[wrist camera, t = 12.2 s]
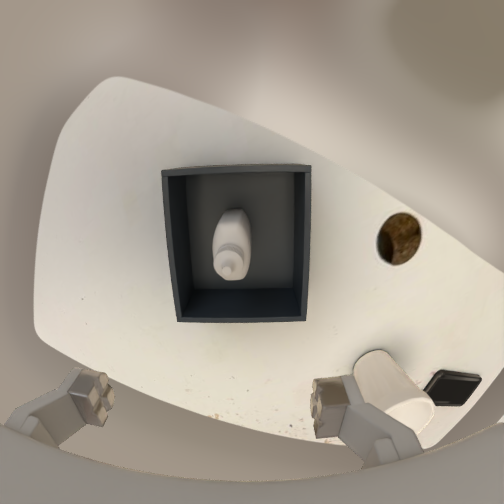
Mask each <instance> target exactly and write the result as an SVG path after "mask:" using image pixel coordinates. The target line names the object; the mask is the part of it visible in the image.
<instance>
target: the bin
mask: <svg viewBox="0 0 504 504" xmlns="http://www.w3.org/2000/svg"><path fill="white" fill-rule="evenodd" d="M161 174H162V190H163V204H164V217H165V228H166V238H167V248H168V257H169V266H170V274H171V282H172V290H173V297H174V304H175V311H176V317H177V322H200V323H256V322H293V321H306V315H307V299H308V281H309V260H310V232H311V165H303V164H237V165H213V166H195V167H181V168H174V169H167V170H162V171H161ZM239 208H240V209H243V210H244V211H245V213H246V214H247V216H248V219H249V222H250V226H251V233H252V239H251V258H250V265H249V269H248V271H247V274H246V276H245V277H244V278H243V279H241V280H225V279H224V278H222V276H220V275H219V274H218V273H217V272H216V270H215V269H214V263H213V262H214V258H213V250H212V246H213V237H214V233H215V230H216V227H217V225H218V222H219V220H220V219H221V217H222V215H223V213H224V212H225V211H226V210H228V209H239Z"/></svg>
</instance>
